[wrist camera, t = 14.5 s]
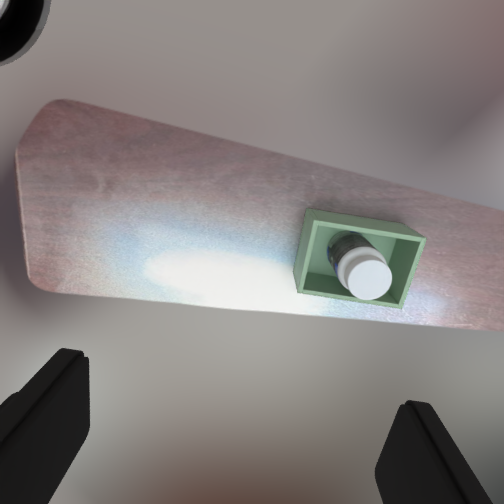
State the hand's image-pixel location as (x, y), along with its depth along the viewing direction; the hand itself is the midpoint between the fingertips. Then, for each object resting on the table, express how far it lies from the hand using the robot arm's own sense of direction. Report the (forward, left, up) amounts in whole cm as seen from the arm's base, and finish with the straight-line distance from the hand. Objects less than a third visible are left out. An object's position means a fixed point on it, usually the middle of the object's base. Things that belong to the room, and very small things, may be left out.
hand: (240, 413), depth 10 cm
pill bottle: (+5, +10, -28) cm, 30 cm away
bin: (+5, +10, -28) cm, 30 cm away
